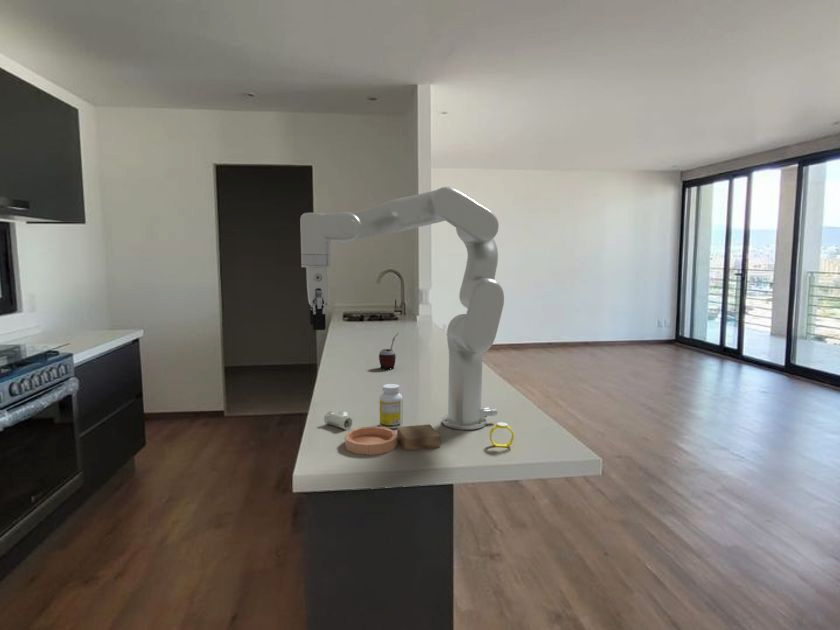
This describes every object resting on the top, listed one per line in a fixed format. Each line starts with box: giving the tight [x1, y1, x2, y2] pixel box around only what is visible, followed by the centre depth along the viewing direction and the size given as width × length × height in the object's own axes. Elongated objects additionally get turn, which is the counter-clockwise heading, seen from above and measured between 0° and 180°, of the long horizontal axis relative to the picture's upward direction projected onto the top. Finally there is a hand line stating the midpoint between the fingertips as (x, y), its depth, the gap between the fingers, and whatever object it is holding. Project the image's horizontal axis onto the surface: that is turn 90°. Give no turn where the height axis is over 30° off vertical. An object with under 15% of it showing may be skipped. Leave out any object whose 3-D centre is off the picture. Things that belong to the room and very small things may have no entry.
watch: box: [489, 421, 515, 448], centre depth 129 cm, size 6×3×6 cm, turn 86°
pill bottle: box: [379, 383, 404, 430], centre depth 143 cm, size 6×6×12 cm
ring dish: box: [344, 426, 398, 456], centre depth 129 cm, size 13×13×2 cm
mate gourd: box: [378, 332, 399, 371], centre depth 216 cm, size 8×8×15 cm
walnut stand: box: [396, 423, 441, 452], centre depth 131 cm, size 9×9×3 cm
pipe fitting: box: [323, 410, 353, 431], centre depth 144 cm, size 8×4×7 cm
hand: (317, 327), depth 133 cm, fingers open, 9 cm apart
